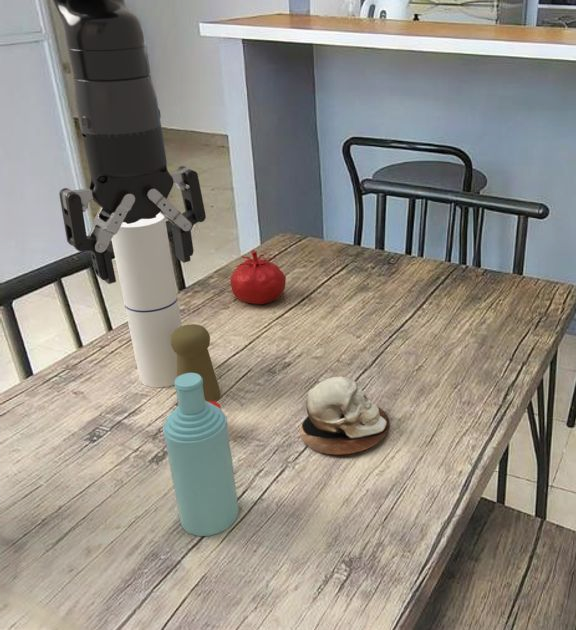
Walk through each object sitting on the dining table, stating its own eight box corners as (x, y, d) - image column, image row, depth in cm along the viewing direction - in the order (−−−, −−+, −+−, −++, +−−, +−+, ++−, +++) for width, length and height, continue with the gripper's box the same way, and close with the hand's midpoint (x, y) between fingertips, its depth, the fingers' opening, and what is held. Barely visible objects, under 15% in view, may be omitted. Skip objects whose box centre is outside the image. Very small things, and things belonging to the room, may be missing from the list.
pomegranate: (262, 315, 121) (258, 267, 116) (221, 301, 125) (215, 254, 121) (298, 294, 128) (295, 248, 124) (258, 282, 133) (253, 237, 128)
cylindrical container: (151, 393, 99) (120, 231, 87) (131, 372, 103) (99, 216, 92) (197, 375, 103) (173, 219, 91) (176, 357, 108) (151, 205, 96)
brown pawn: (168, 403, 97) (156, 336, 91) (191, 381, 102) (180, 316, 97) (207, 410, 95) (197, 342, 90) (228, 387, 101) (219, 321, 95)
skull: (402, 400, 97) (390, 381, 87) (384, 472, 93) (369, 461, 84) (323, 384, 99) (302, 364, 90) (303, 454, 96) (280, 441, 86)
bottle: (179, 541, 74) (152, 401, 66) (181, 500, 80) (156, 366, 71) (239, 530, 76) (221, 392, 67) (237, 491, 81) (220, 359, 73)
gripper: (170, 108, 75) (190, 245, 83) (32, 125, 66) (68, 277, 74) (204, 119, 70) (222, 263, 78) (59, 140, 61) (95, 300, 69)
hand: (147, 270), depth 76 cm, fingers open, 8 cm apart
